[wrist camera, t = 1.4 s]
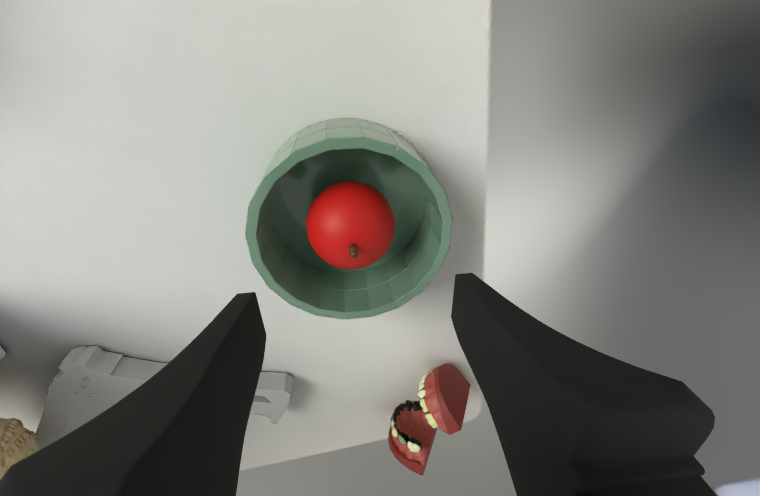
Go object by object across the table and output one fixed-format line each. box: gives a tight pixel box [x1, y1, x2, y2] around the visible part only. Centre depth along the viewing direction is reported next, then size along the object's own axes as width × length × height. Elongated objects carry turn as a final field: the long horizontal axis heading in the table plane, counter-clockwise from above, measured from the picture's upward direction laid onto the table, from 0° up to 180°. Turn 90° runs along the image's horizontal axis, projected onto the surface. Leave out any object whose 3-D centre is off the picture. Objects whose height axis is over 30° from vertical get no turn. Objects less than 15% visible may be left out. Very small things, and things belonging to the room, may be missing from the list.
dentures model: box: [388, 364, 470, 475], centre depth 28 cm, size 6×4×8 cm
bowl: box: [245, 118, 452, 319], centre depth 19 cm, size 10×10×4 cm
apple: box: [306, 181, 395, 269], centre depth 18 cm, size 5×5×5 cm
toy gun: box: [36, 346, 293, 448], centre depth 29 cm, size 2×28×15 cm
